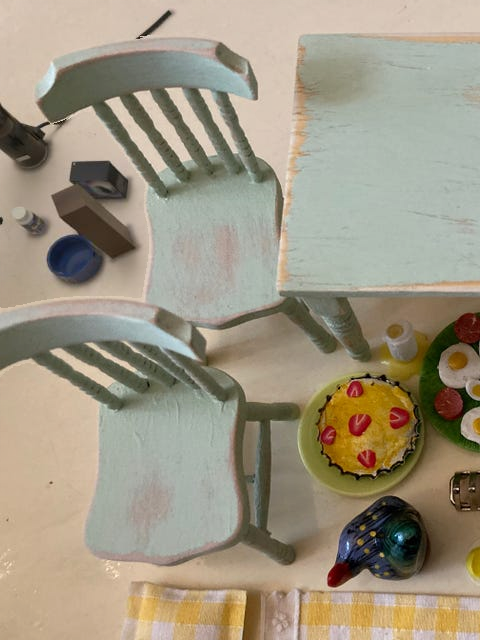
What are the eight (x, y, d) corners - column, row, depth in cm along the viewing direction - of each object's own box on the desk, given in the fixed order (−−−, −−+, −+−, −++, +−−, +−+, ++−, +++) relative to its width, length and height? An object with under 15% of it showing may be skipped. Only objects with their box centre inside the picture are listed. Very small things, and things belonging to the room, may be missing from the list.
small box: (89, 201, 196) (67, 181, 186) (92, 180, 198) (70, 160, 187) (126, 199, 196) (106, 180, 185) (128, 179, 197) (109, 159, 187)
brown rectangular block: (104, 238, 192) (50, 195, 169) (127, 228, 193) (77, 183, 170) (112, 259, 190) (59, 217, 167) (136, 247, 191) (86, 205, 168)
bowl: (68, 237, 193) (58, 229, 188) (109, 247, 191) (100, 240, 187) (49, 277, 189) (38, 270, 185) (90, 288, 188) (81, 281, 184)
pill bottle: (42, 236, 193) (23, 222, 185) (27, 233, 193) (6, 219, 185) (49, 221, 194) (29, 206, 186) (33, 218, 195) (13, 203, 187)
